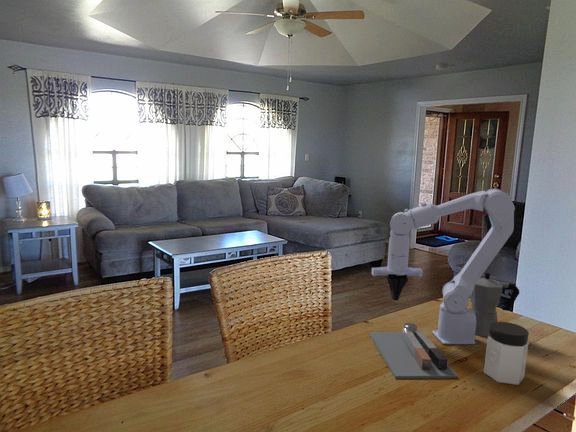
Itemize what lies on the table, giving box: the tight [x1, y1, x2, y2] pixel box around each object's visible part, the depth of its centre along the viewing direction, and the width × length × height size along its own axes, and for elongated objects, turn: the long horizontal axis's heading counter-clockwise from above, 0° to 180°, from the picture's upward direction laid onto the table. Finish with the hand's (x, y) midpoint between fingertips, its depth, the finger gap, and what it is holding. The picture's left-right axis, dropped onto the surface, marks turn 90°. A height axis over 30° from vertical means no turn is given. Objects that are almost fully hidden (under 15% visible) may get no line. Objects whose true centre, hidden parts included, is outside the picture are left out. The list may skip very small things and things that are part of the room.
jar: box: [483, 321, 530, 386], centre depth 103 cm, size 9×8×12 cm
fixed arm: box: [415, 330, 448, 369], centre depth 111 cm, size 16×2×2 cm, turn 4°
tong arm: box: [401, 322, 431, 369], centre depth 113 cm, size 20×4×3 cm, turn 0°
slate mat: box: [368, 331, 458, 379], centre depth 113 cm, size 24×15×1 cm, turn 4°
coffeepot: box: [469, 272, 520, 338], centre depth 127 cm, size 15×9×18 cm, turn 70°
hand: (394, 299), depth 126 cm, fingers closed
